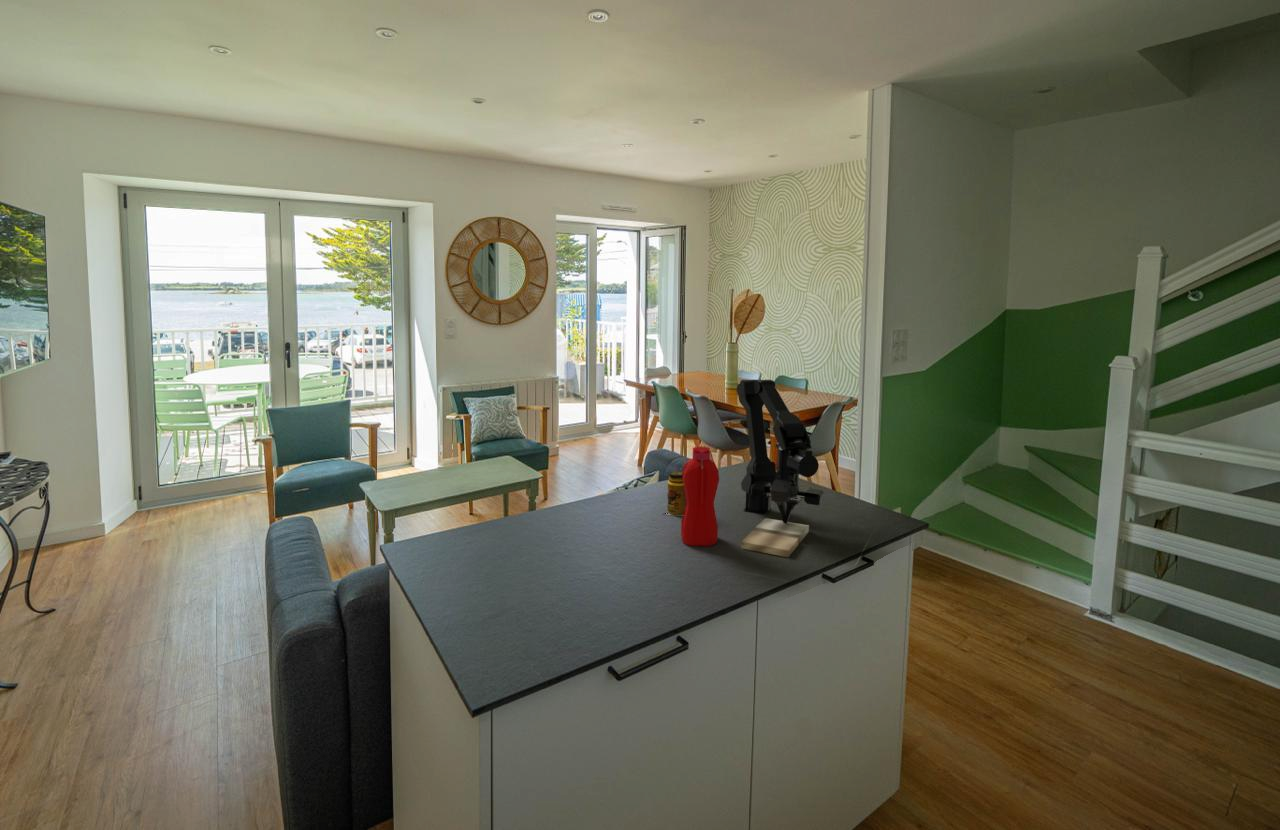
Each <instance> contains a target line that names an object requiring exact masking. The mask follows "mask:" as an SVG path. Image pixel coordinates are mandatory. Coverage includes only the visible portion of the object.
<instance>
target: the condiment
mask: <svg viewBox="0 0 1280 830" xmlns="http://www.w3.org/2000/svg"><path fill="white" fill-rule="evenodd" d="M682 474H683V470H674V471H670V472H669V473H668V481H667V502H666V504H667V509H666V510H668V514H667V513H666V514H665V515H666V516H667V515H669V516H676V517H683V514H684V509H685V505H686V497H685V490H684V484H683V478H682Z"/></svg>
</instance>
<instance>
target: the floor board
mask: <svg viewBox="0 0 1280 830" xmlns="http://www.w3.org/2000/svg"><path fill="white" fill-rule="evenodd" d="M799 545H800V542H799V537H794V536H788V535H783V534H777V533H772V532H766V531H760V530H755V529H753V530H752V531H751V532H750V533H749V534H748V535H747V536H746V537H744V539H743V540H741V545H740V548H741V549H743V550H748V551H754V552H758V553H759V552H760V553H764V554H769V555H775V556H780V557H785V558H789V557H790V556H791V554H793V552H794V551H795V550H796V548H797V547H798V546H799Z"/></svg>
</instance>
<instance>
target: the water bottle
mask: <svg viewBox="0 0 1280 830" xmlns="http://www.w3.org/2000/svg"><path fill="white" fill-rule="evenodd" d="M710 453H711V449H710V447H708V446H694V447H692V458H691V459H689V460H687V461H686V462H685V463H684V466H683V468H682V471H683V474H682V478H683V484H684V490H685V497H686V505H685V509H684V514H683V516H682V518H681V523H680V526H681V527H680V536H681V541H682V542H683V543H684V544H685V545H688V546H690V547H711V546H714V545H715V544H716V543H717V541H718V538H719V537H718V535H719V533H718V532H719V529H718V521H717V515H716V510H715V500H716V498H715V497H716V494H717V490H718V487H719V483H720V475H719V470H718V467H717V464H716V463H715V462H714V461H713V460H712V459H711V458H710V457H711V456H710V455H711V454H710Z"/></svg>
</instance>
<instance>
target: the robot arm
mask: <svg viewBox="0 0 1280 830" xmlns="http://www.w3.org/2000/svg"><path fill="white" fill-rule="evenodd" d="M736 394H737V396H738V397H737V398H738V401H739V404H741V406H742V407H743V408H744V409H743V410H745V415H746V423H747V424H746V426H747V434H748V442H749V453H750V460H749V462H748V464H747V466H746V474H745V476H744V478H743V479H742V480H741V483H740V484H741V490H742V491H743V492H745V508H743V512H746V513H751V514H757V515H766V514H767V513H768V512H769V511H770V510H771V509H772V508H771V506H772V505H771V504H772V502H774V503H775V504H776V505H777V508H778V511H779V512H780V513H779V514H780V516H781V521H783V523H787V522H789V519H790V517H791V515H792V513H793V510H794V509H795V506H797V505H799V504H800V503H801V502H802V501H804V502H805V503H806V504H807V505H812V506H813V505H814V506H820V505H821V504H822V503H823V501H824V500H825V492H824V491H823V490H822V489H818V488H812V487H810V488H808V489H807V490H806V491H805V490H800V484H799V480H800V479H799V478H800V476H802V477H804V478H811V477H813V476H814V475H816V473H817V472H818V470H819V466H820V465H819V464H820V463H819V462H818V459H817V457H815V456H814V455H813V450H811V449H812V445H811V443H812V442H811V438H810V436H809V434H808V431H807V428H806V426H805V424H804V422H803V421H802V420H801V419H800V417H799V416H797V415H796V414H794V413H792V412H790V410H789V408H788V406H787V405H786V403H785V401H784V400H783V397H781V395H780V393H779V391H778V389H777V388H776V382H775V381H774V380H773V379H762V378H761V379H759V378H758V379H741V380H740V381H739V383H738V384H737V385H736ZM764 406H765V408H766V410H767V412H768V413H769V416H770V417H771V419H772V422H773V427H772V431H773V435H774V438H775V440H776V441H777V443H776V444H775V448H777V449H778V452H777V464H776V463H775V461H772V460H771V459H770V457H768V448H767V438H766V428H765V423H764V420H765V419H764V412H763V407H764ZM776 465H777V466H776ZM803 499H804V500H803Z"/></svg>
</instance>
